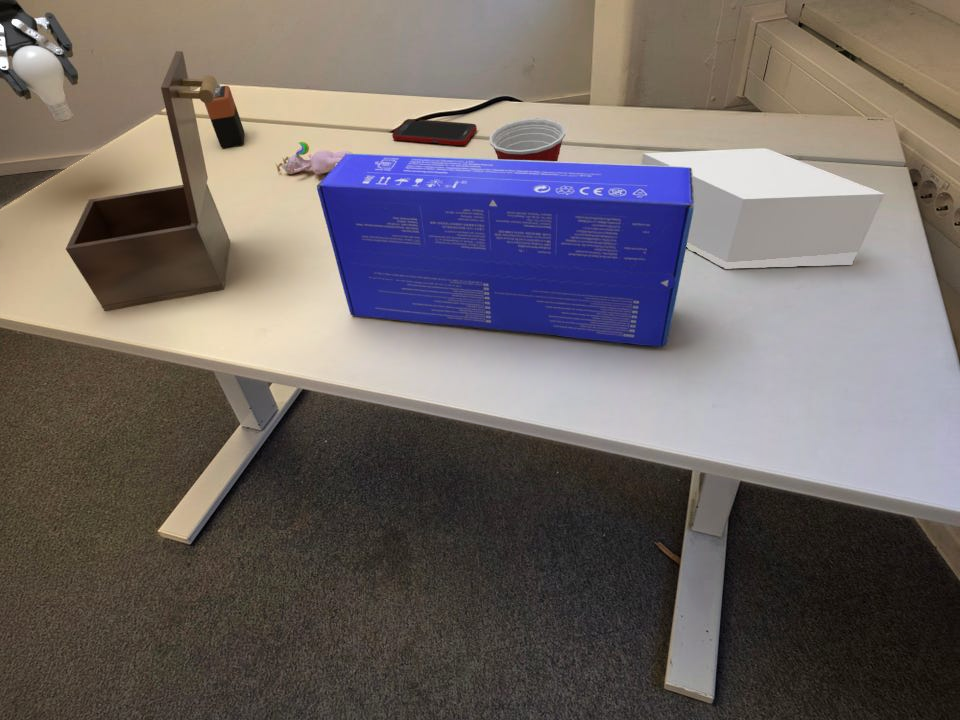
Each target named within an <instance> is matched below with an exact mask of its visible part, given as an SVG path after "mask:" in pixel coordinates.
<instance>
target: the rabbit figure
mask: <svg viewBox="0 0 960 720" xmlns="http://www.w3.org/2000/svg"><path fill="white" fill-rule="evenodd" d="M298 144H299V145H300V146H301V147H299V148H298V149H297V150H296V152H295V154H294V155H293V156H292V157H290V156H286V157H285V158H284V157H281V158H282V162H283V163H282V162H280V163H279V164H277V163H275V165H276V166H275V167H276V170H277V174H280V173H281V167H282V169H283V170H284V171H285V172H286V173H287V174H289V175H295V174H297V173H300V172H301V171H309V170H310V169H311V170H312V172H313V174H315V175H324V174H326V175H327V173H330V171H331V170H332V169H333V168H334V167H335V166H336V165H337V164H338V162H339V161H340V160H341V159H342V158H343V157H344V156H345V154H354V153H353V152H351V151H348V150H340V151H336V152H333V151H330V150H327V149H324V150H323V149H321V150H318V151H316V152H314V153H313V155H312V154H311V153H310V154H308V153H309V151H310V146H309V145H308V142H306V141H299V142H298ZM306 154H308V158H310V159H304V158H303V157H302V156H304V155H306Z"/></svg>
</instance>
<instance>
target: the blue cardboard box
mask: <svg viewBox="0 0 960 720" xmlns="http://www.w3.org/2000/svg"><path fill="white" fill-rule="evenodd" d="M316 190H317V194H318V197H319V202H320V205H321V209H322V212H323V216H324V217H323V218H324V221H325V224H326V228H327V232H328V235H329V239H330V243H331V247H332V251H333V254H334V259H335V261H336V265H337V270H338V274H339V278H340V281H341V285H342V289H343V292H344V296H345V301H346V303H347V308H348V311H349V314H350V315H351V316H354V317H358V318H359V317H360V318H374V319H383V320H391V321H392V320H394V321H403V322H410V323H411V322H412V323H423V324H432V325H446V326H452V327H460V328H461V327H462V328H473V329H482V330H494V331H504V332H514V333H524V334H535V335H549V336H559V337H562V338H563V337H565V338H572V339H583V340H593V341H601V342H602V341H603V342H611V343H622V344H629V345H630V344H631V345H640V346H652V347H664V346H665V347H667V346H668V340H669V337H670V336H669V335H670V330H671V326H672V321H673V316H674V311H675V307H676V302H677V301H676V300H677V296H678V291H679V286H680V281H681V275H682V272H683V265H684V262H685V261H684V260H685V255H686V251H687V249H686V246H687V240H688V235H689V230H690V226H691V220H692V215H693V210H694V187H693V172H692V169H691V168H690V167H680V166H655V165H641V164H627V163H607V162H605V163H603V162H582V161H581V162H578V161H577V162H576V161H557V162H556V161H530V160H503V159H498V158H475V157H472V158H469V157H450V156H449V157H447V156H445V157H443V156H423V155H421V156H420V155H395V154H373V153H372V154H369V153H368V154H367V153H353V154H345V156H344V157H343V158H342V159H341V160H340V161H339V162H338V163H336V164H335V167H334V168H333V169H332V170H331V171H329V172H328V174H326V176H324V177H323V178H322V179H321V180H320V182H318V184H317V185H316Z"/></svg>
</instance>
